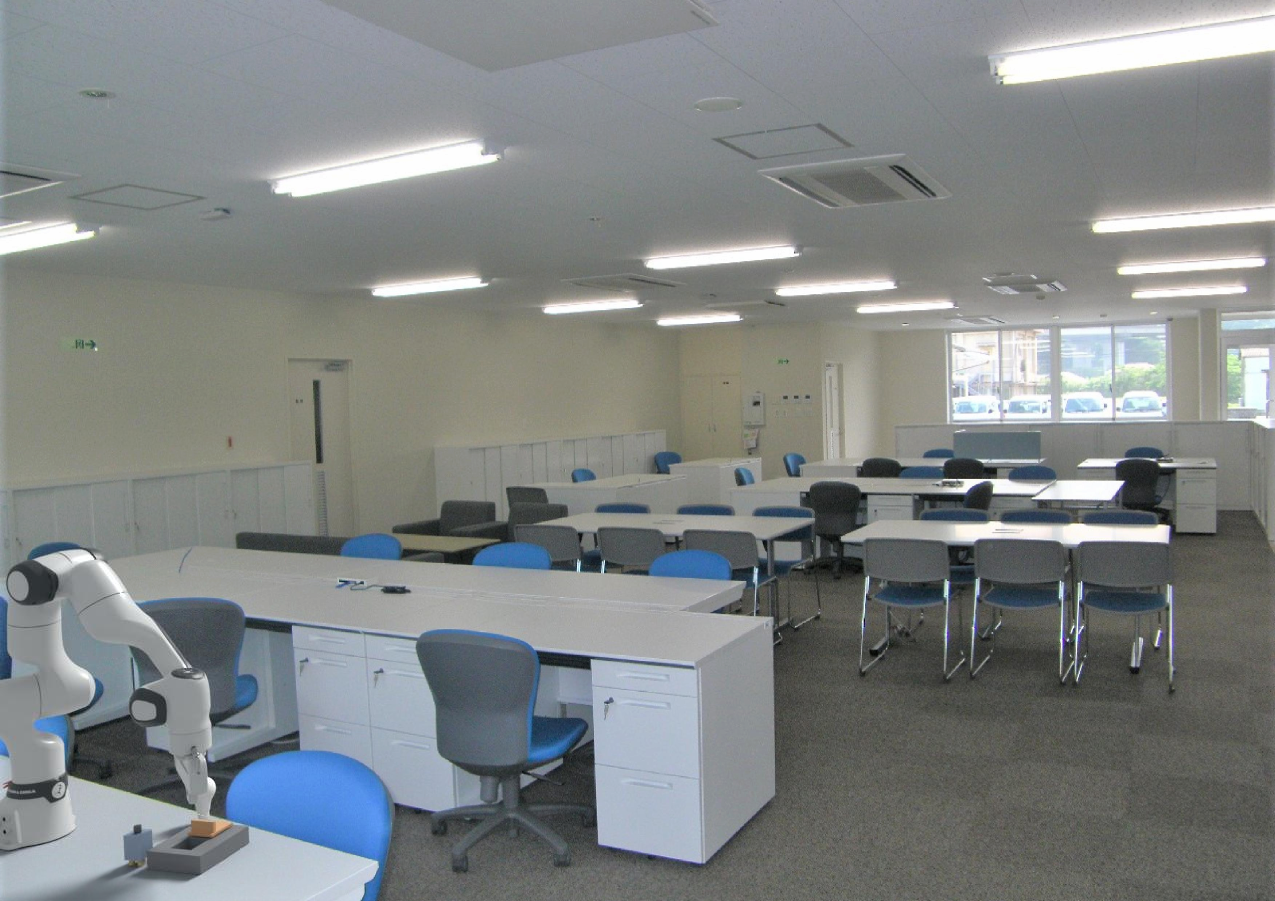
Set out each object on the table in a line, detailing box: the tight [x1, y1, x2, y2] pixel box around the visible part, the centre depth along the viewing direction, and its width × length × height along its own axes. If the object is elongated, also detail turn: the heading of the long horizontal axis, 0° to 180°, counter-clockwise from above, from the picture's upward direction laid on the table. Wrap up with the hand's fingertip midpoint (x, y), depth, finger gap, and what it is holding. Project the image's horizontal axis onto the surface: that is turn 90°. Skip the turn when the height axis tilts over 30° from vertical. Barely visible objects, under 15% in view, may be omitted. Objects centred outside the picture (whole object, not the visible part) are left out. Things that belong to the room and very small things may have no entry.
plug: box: [122, 824, 154, 868], centre depth 212 cm, size 4×4×8 cm
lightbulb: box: [194, 776, 217, 820], centre depth 235 cm, size 6×6×11 cm
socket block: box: [146, 824, 250, 876], centre depth 215 cm, size 14×16×4 cm
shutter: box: [187, 818, 234, 837], centre depth 219 cm, size 7×7×3 cm
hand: (192, 801), depth 214 cm, fingers closed
